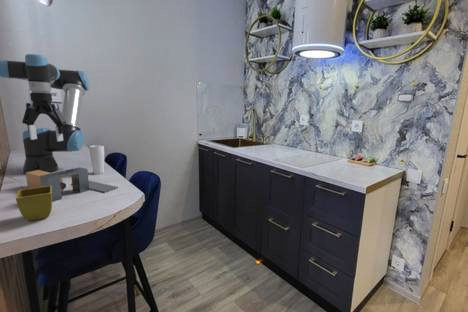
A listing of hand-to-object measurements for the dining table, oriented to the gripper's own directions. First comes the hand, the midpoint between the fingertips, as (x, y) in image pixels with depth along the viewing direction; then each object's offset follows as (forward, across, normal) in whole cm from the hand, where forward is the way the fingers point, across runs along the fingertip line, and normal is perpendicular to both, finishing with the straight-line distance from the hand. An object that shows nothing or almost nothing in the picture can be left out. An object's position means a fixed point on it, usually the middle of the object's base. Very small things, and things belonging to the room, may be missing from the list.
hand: (46, 140), depth 111 cm
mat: (+20, +23, -2) cm, 31 cm away
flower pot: (+20, +26, -33) cm, 46 cm away
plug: (+20, +7, -9) cm, 23 cm away
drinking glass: (+21, +10, +19) cm, 30 cm away
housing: (+20, +20, -13) cm, 31 cm away
